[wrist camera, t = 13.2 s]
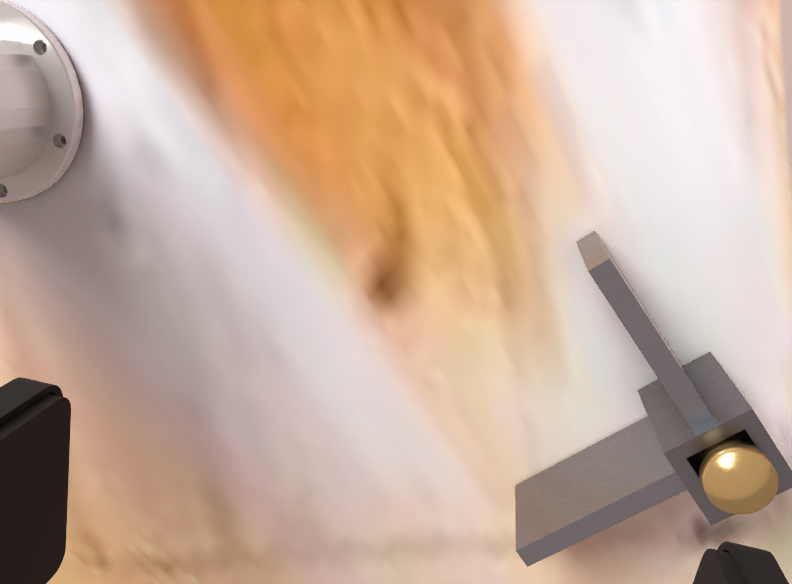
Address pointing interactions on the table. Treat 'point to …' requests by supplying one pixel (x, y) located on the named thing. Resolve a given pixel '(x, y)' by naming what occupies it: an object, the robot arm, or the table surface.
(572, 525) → the hinge bracket
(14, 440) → the robot arm
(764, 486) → the hinge pin
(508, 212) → the table surface
